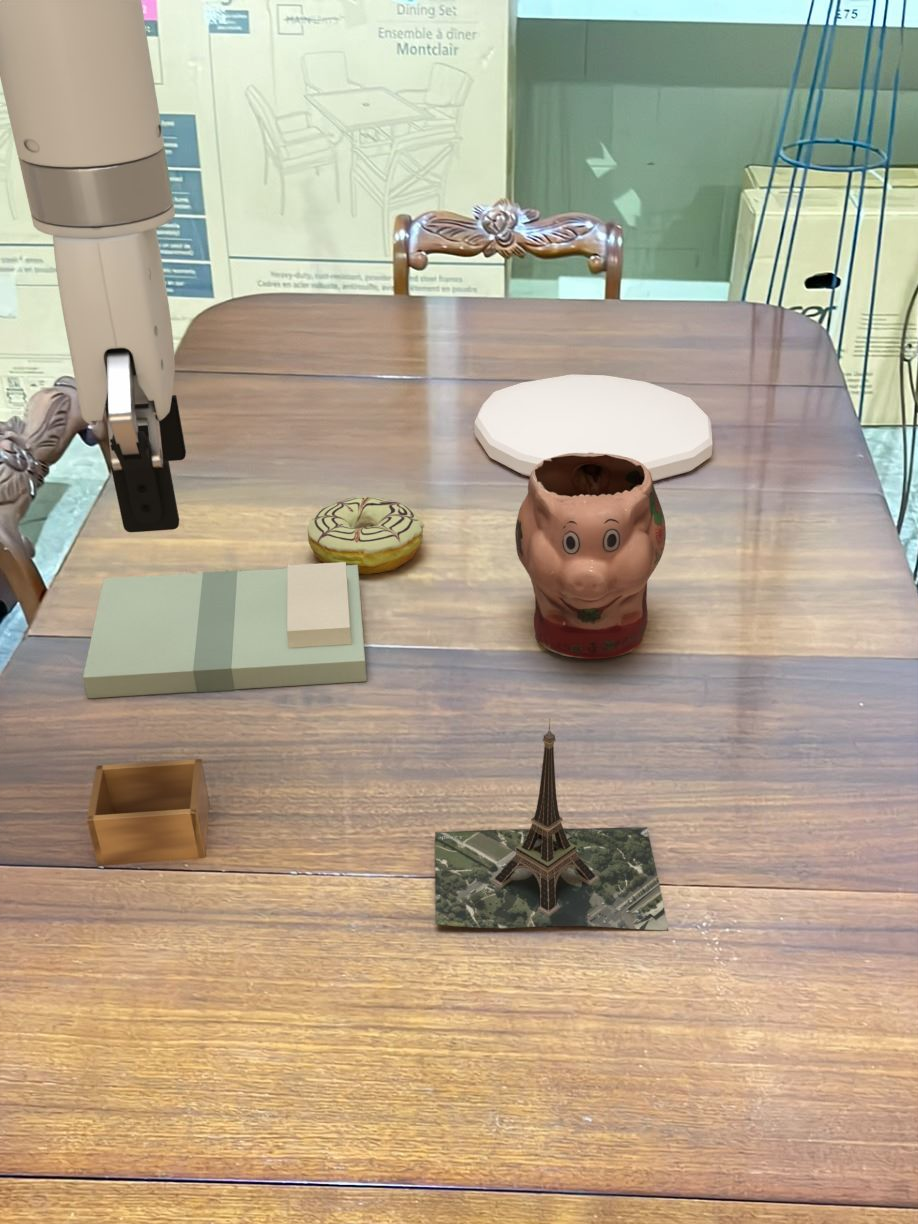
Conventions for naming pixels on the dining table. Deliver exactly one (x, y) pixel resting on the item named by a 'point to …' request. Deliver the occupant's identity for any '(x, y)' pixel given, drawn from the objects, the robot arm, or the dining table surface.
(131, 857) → the open wooden box
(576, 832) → the eiffel tower figurine
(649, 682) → the dining table surface
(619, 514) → the decorative planter
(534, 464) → the decorative plate
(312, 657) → the bed
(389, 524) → the decorated donut
